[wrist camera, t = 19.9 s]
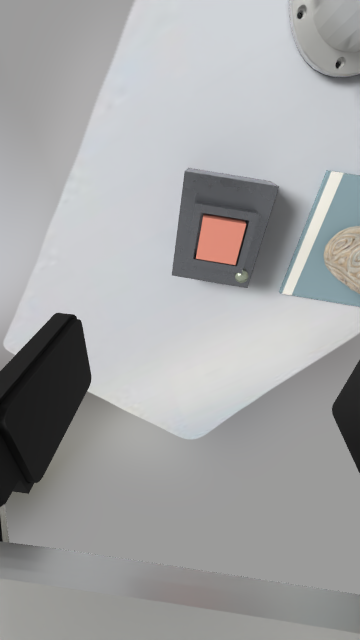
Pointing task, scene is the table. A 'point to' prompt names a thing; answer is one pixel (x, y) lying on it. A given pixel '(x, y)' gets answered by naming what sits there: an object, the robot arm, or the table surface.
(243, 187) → the breaker box
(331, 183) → the mat
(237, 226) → the button
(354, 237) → the carving
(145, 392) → the table surface
